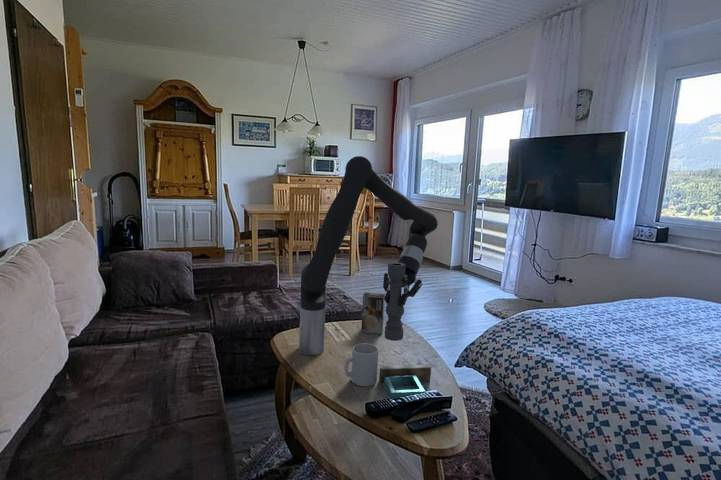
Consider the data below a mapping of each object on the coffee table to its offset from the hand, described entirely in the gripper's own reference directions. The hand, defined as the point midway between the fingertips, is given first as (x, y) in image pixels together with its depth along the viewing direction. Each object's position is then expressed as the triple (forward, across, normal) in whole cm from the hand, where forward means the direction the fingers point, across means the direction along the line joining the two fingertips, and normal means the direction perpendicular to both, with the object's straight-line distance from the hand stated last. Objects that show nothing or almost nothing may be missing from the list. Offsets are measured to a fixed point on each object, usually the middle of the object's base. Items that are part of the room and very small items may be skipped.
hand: (393, 303), depth 132 cm
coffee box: (-4, -22, +41) cm, 47 cm away
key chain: (+11, +6, +26) cm, 29 cm away
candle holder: (+7, 0, +10) cm, 13 cm away
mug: (+24, -7, +13) cm, 28 cm away
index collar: (+23, +8, +13) cm, 28 cm away
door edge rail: (+18, +6, +18) cm, 26 cm away
